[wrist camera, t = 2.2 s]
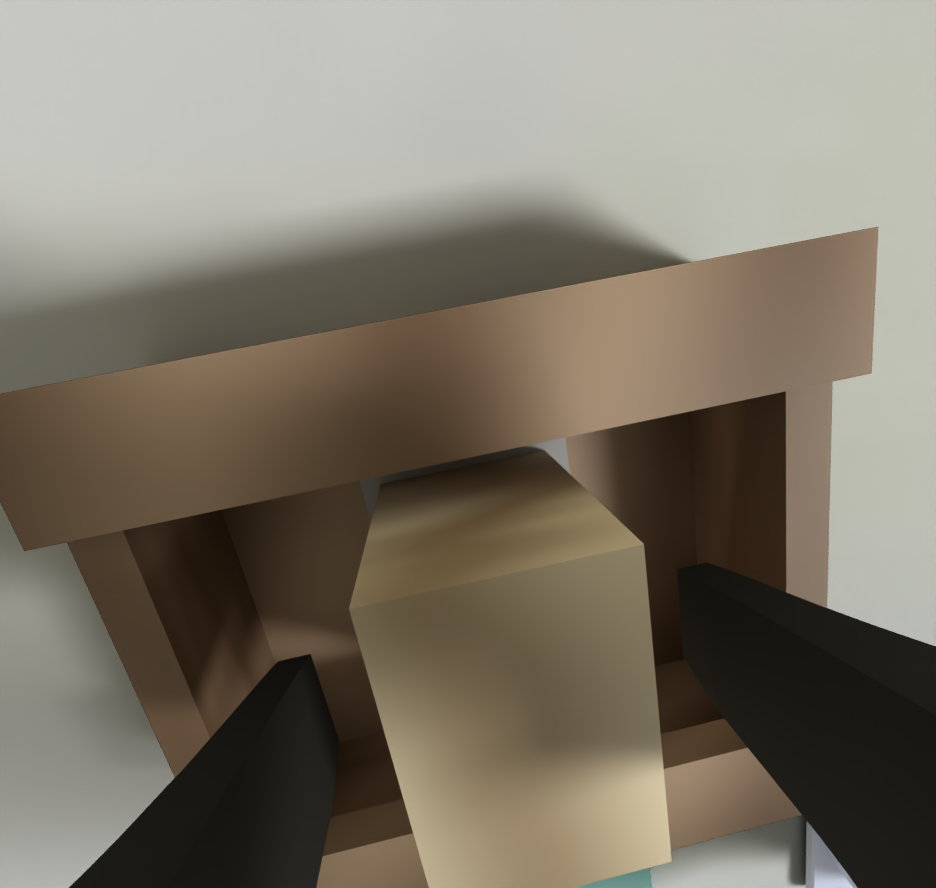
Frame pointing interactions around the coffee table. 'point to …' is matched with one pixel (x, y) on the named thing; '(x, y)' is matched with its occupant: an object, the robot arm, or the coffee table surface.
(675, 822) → the slotted box
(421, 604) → the maple block
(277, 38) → the coffee table surface
